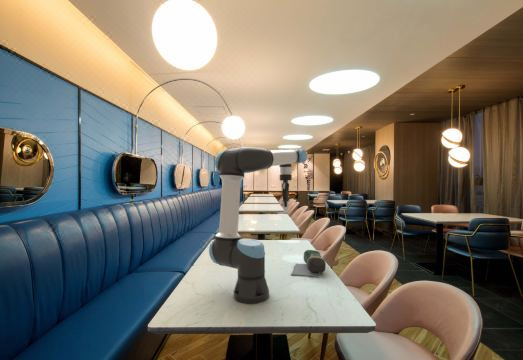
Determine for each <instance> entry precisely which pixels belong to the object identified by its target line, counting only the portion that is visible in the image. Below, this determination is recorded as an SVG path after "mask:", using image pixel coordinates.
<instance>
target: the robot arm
mask: <svg viewBox="0 0 523 360" xmlns="http://www.w3.org/2000/svg"><path fill="white" fill-rule="evenodd" d="M307 160H308V153H307V151H306V150H305V149H304V148H303V149H300V148H299V149H289V148H282V149H278V150H277V149H276V150H275V149H273V150H270V149H269V148H262V147H251V146H250V147H249V146H245V147H237V148H226V149H223V150H220V152H218V153H217V155H216V157H215V161H214V166H215V169H216V171H217V172H218V173H219V178H220V179H221V180H222V181H221V182H222V184H221V194H220V195H221V197H220V198H221V200H220V214H219V228H218V232H217V233H216V234H215V236H214V237H215V238H214V239H213V240H211V243H210V244H209V249H208V255H209V257H210V259H211V261H212V262H213V263H215V264H217V265H219V266H222V267H228V268H232V269H236V270H237V280H236V283H235V286H234V289H233V298H234V299H235V300H236V301H237V302H240V303H243V304H257V303H262V302H265V301H267V300H268V298H269V297H270V288H269V286H268V282H267V279H266V274H265V273H266V271H265V270H266V268H265V267H266V265H265V264H266V261H265V258H266V256H265V255H266V253H265V252H266V251H265V245H264V243H263V242H261V241H260V240H258V239H255V238H254V239H253V238H242V236H241V235H240V234H239V217H240V216H239V214H240V202H241V201H240V199H241V185H242V180H244V178H245V174H250V173H255V172H259V171H263V170H268V169H271V167H274V166H275V167H276V166H279V168H278V169H279V170H278V171H279V173H278V174H279V181H282V183H281V191H282V200H281V202H283V213H289V202H290V200H289V199H290V197H289V196H290V195H289V194H290V183H289V181H292V179H293V177H292V176H293V175H292V171H293V168H292V164H302V163H306V162H307Z"/></svg>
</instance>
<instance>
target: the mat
mask: <svg viewBox="0 0 523 360" xmlns="http://www.w3.org/2000/svg"><path fill="white" fill-rule="evenodd" d="M290 275H291V276H297V277H309V278H320V277H319V276H320V273H313V272H310V271H309V270H308V268H307V264H306V263H295V264H294V267H293V270H291V274H290Z"/></svg>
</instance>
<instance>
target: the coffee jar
mask: <svg viewBox="0 0 523 360" xmlns="http://www.w3.org/2000/svg"><path fill="white" fill-rule="evenodd" d="M303 261H304V264H307V268H308V270H309V271H310V272H313V273H319V274H323V273H324V272H325V271H326V260H325V259H324V258H323V257H322V255H321V253H320V251H318V250H313V249H307V250H305V251H304V253H303Z"/></svg>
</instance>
